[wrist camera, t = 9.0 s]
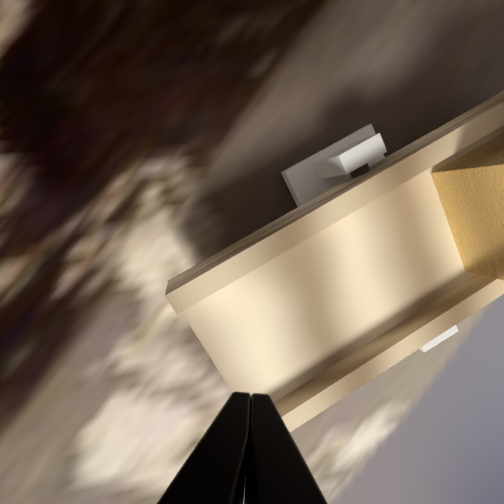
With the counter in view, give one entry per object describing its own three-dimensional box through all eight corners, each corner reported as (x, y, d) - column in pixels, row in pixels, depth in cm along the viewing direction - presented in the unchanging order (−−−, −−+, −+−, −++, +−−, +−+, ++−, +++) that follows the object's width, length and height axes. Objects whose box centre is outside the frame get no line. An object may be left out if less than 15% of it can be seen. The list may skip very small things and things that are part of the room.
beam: (255, 419, 18) (268, 460, 16) (164, 274, 16) (159, 289, 13) (560, 225, 21) (621, 229, 18) (518, 74, 18) (579, 50, 16)
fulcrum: (364, 343, 22) (400, 374, 18) (280, 172, 19) (303, 165, 15) (434, 299, 23) (485, 320, 19) (364, 126, 20) (406, 108, 16)
